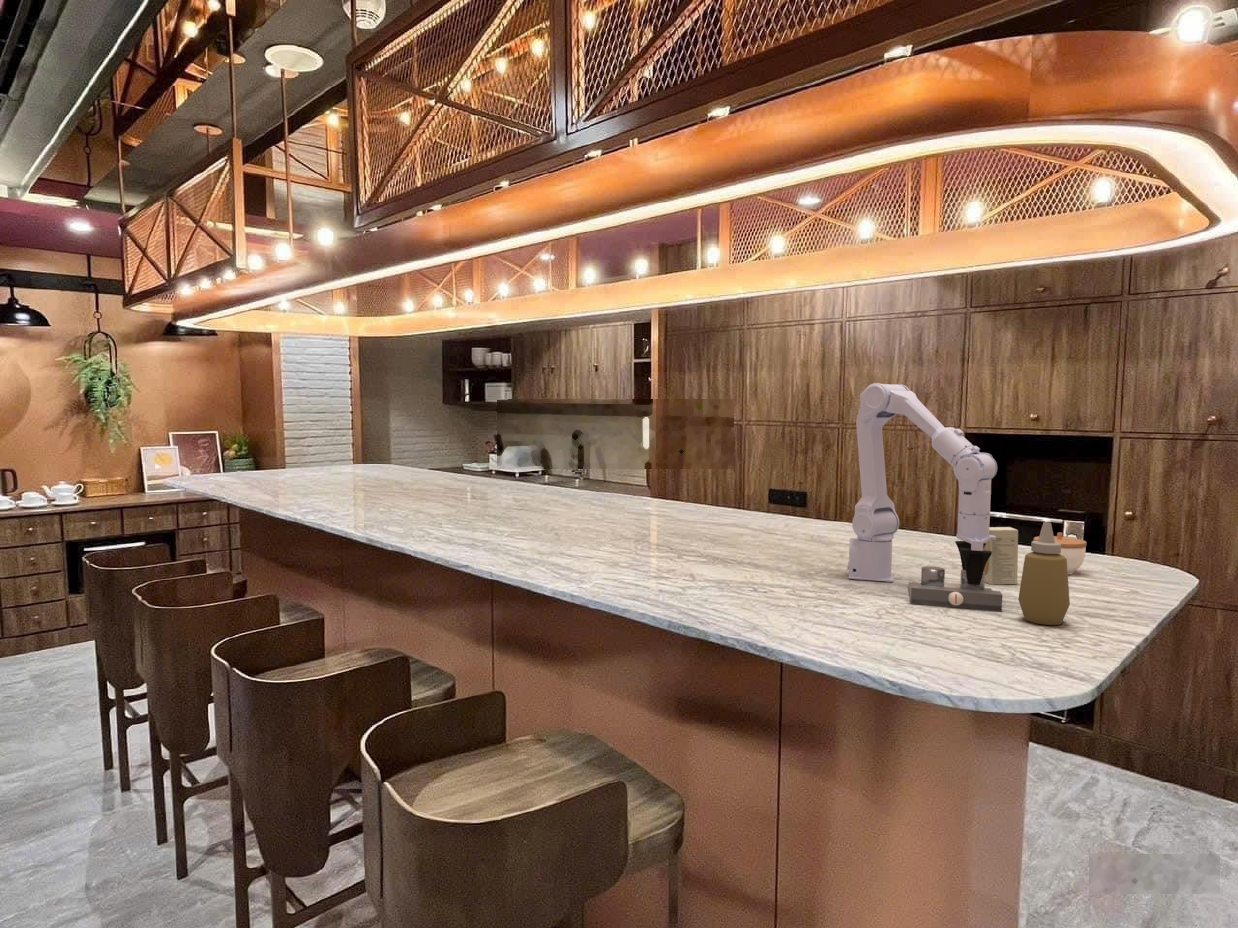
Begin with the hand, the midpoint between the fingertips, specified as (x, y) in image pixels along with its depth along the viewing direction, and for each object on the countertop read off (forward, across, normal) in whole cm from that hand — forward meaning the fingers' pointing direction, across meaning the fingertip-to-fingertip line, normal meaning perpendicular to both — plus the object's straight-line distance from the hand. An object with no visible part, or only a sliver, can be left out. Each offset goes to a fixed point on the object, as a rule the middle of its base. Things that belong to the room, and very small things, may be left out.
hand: (971, 579), depth 146 cm
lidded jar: (+4, +35, -22) cm, 42 cm away
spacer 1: (+2, 0, +7) cm, 8 cm away
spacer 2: (+2, 0, 0) cm, 2 cm away
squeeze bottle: (+4, -13, -10) cm, 17 cm away
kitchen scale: (+4, -1, +4) cm, 5 cm away
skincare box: (+4, +18, -7) cm, 20 cm away
